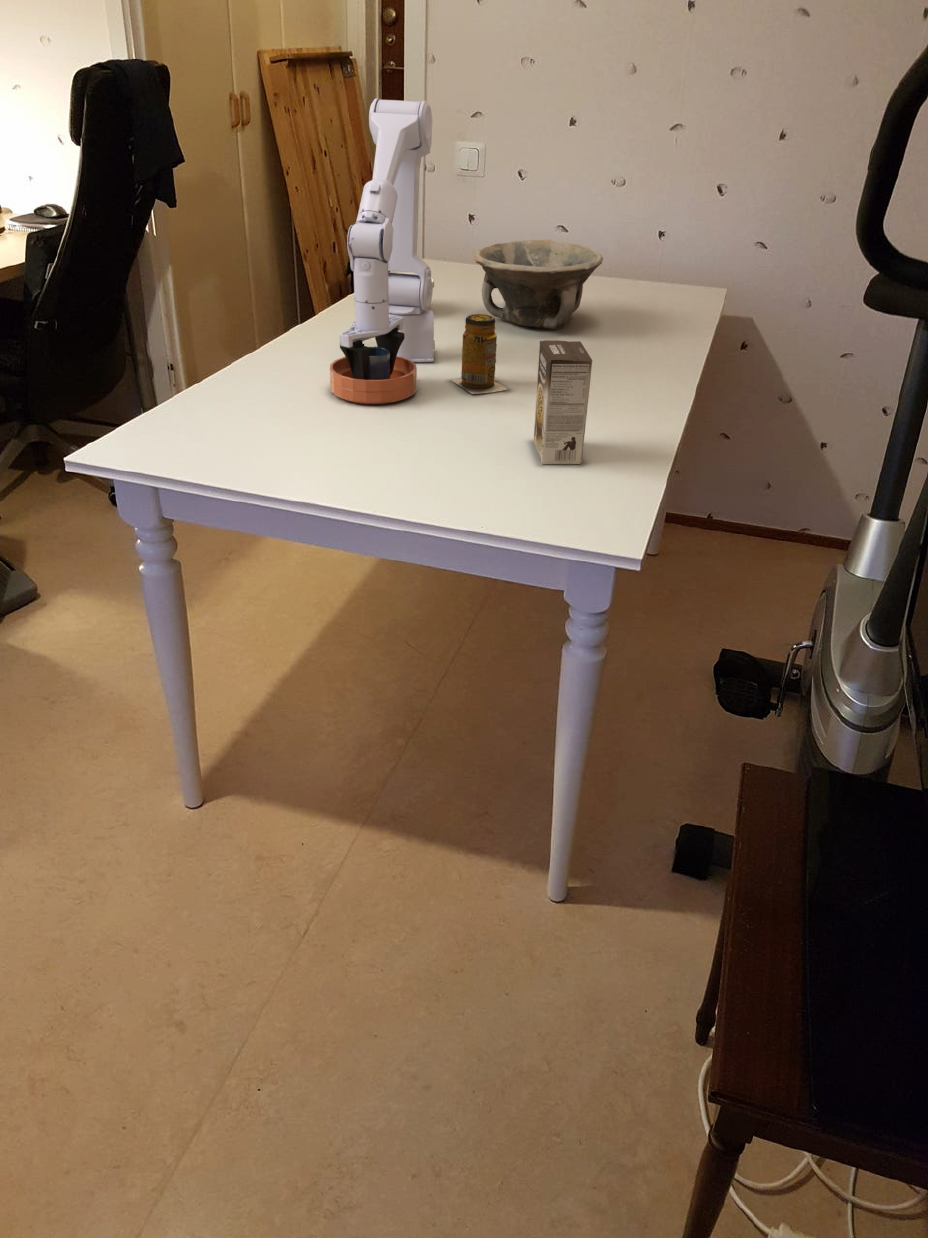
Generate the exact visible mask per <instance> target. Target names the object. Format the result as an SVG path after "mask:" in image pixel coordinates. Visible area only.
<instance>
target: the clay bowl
mask: <svg viewBox="0 0 928 1238" xmlns="http://www.w3.org/2000/svg"><path fill="white" fill-rule="evenodd" d="M417 372H418V369H417V364H416V362H413V361H411V360H409V359H406V358H404V357H400V356H396V360H395V364H394V368H393V372H392V374H391V375H390V379H384V380H363V379H354V378H353V374H352V371H351V368H350V365H349V363H348V361H347V359H346V357H345V356H342V357H340V358H338V359H336V360H333V362H331V363H330V364H329V381H330V382H329V383H330V392H331V393H332V394H333V395H334V396H336V397H338V398H340V399H342V400H345V401H348V402H351V403H355V404H363V405H386V404H387V405H388V404H392V403H397V402H400V401H403V400H405V399H408V398H410V397H412V396H413V395H414V394H415V393H416V392H417V391H418V387H417V386H418V380H417V379H418V375H417V374H418V373H417Z"/></svg>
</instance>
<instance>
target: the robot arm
mask: <svg viewBox="0 0 928 1238" xmlns="http://www.w3.org/2000/svg"><path fill="white" fill-rule="evenodd" d="M432 112H433V111H432V107H431V105H430V104H429V102H428V101H427V100H422V101H418V100H417V101H416V100H397V99H381V98H378V97H377V98H374V99H373V100H372V103H370V106H369V113H368V126H369V132H370V134H371V137H372V141H373V144H374V145H375V146H376V147H375V154H374V162H373V170H372V171H373V172H372V179H371V180H369V181H367V182H366V183H365V184H364V186H363V189H362V193H361V198H360V202H359V203H360V204H359V208H358V213H357V217H356V221H355V223H354V224H351V225H350V226H349V228H348V231H347V239H346V247H347V248H346V249H347V255H348V257H349V263H350V271H352V272H353V292H354V295H353V296H354V318H355V319H354V320H355V321H352V322H351V327H350V328H348V329H347V330H346V331H344V332H342V333H339V349H340V351H341V352H342V353H343V355H344V357H346V359H347V361H348V363H349V365H350V368H351V371H352V374H353V378H354V379H363V380H367V368H368V360H369V356H370V353H371V350H372V348H371V347H372V346H367V345H365V343H363V342H365V341H367V340H370V339H373V338H374V339H375V343H376V347H382V348H386V349H388V350H389V351H390V375H391V374H392V372H393V368H394V364H395V360H396V356H400V357H404V358H406V359H409V360H411V361H413V362H414V363H434V361H435V358H434V355H435V354H434V353H435V350H436V340H435V315H434V311H433V310H427V308H428V307H429V306H430V304H431V305H432V301H431V299H433V293H432V281H431V278H432V269H431V267H430V265H428V263H426V262H425V261H424V260H423V259H422V257H420V256H419V255H418V231H419V230H418V229H419V203H420V201H419V200H420V171H421V164H422V158H423V157H425V156H428V155H429V154H431V148H432V142H433V139H432V138H433V113H432ZM401 272H403V273H416V274H418V275H412V274H400V273H401Z"/></svg>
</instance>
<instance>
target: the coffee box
mask: <svg viewBox="0 0 928 1238" xmlns="http://www.w3.org/2000/svg"><path fill="white" fill-rule="evenodd" d="M538 351H539V353H538V369H537V383H536V384H537V385H536V400H535V411H534V412H535V413H534V430H533V443H534V446H535V449H536V451H537V455H538V457H539V460H540V463H541V465H581V464H582V462H583V461H582V459H583V451H584V441H585V433H586V424H587V418H588V417H587V416H588V407H589V406H588V405H589V397H590V390H591V389H590V388H591V379H592V370H593V369H592V368H593V359H592V357H591V355H590V354H589V353H588V350H586V347H584V345H583V343H582V342H581V341H580V340H577V341H576V340H573V341H571V340H570V341H567V340H560V339H559V340H558V339H557V340H553V339H552V340H548V339H547V340H545V339H544V340H540V341H539V350H538Z"/></svg>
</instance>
